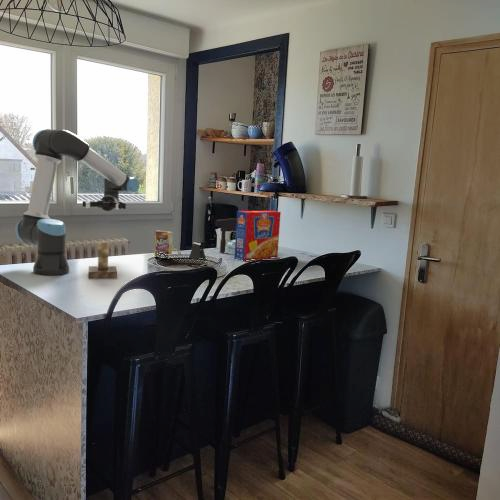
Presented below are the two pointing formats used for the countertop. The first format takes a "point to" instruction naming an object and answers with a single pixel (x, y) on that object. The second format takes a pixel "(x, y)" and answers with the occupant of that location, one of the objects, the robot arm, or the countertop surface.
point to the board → (102, 272)
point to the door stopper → (197, 251)
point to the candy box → (163, 241)
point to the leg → (103, 255)
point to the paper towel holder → (225, 226)
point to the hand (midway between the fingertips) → (101, 206)
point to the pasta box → (257, 235)
